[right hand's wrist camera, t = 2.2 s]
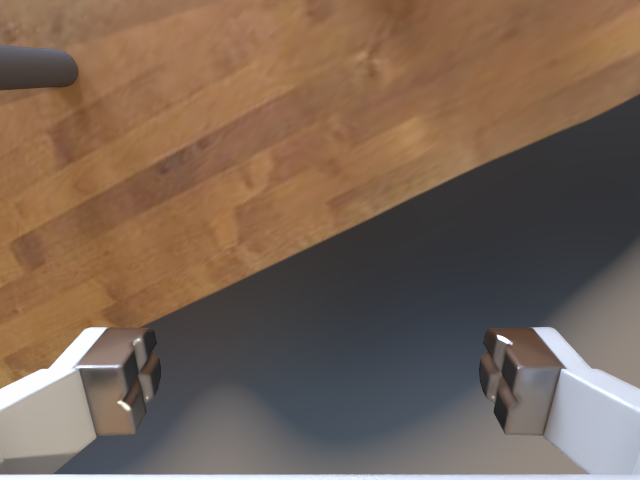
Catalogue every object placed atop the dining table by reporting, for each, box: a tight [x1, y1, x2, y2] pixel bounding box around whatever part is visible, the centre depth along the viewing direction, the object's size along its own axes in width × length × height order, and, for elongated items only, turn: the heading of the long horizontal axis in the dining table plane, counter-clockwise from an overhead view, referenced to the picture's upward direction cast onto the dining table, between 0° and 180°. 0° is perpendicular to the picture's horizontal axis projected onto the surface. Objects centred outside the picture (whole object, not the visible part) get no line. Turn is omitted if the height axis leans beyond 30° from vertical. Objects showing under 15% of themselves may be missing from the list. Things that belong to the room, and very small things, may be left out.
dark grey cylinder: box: [0, 45, 78, 90], centre depth 44 cm, size 4×4×19 cm
